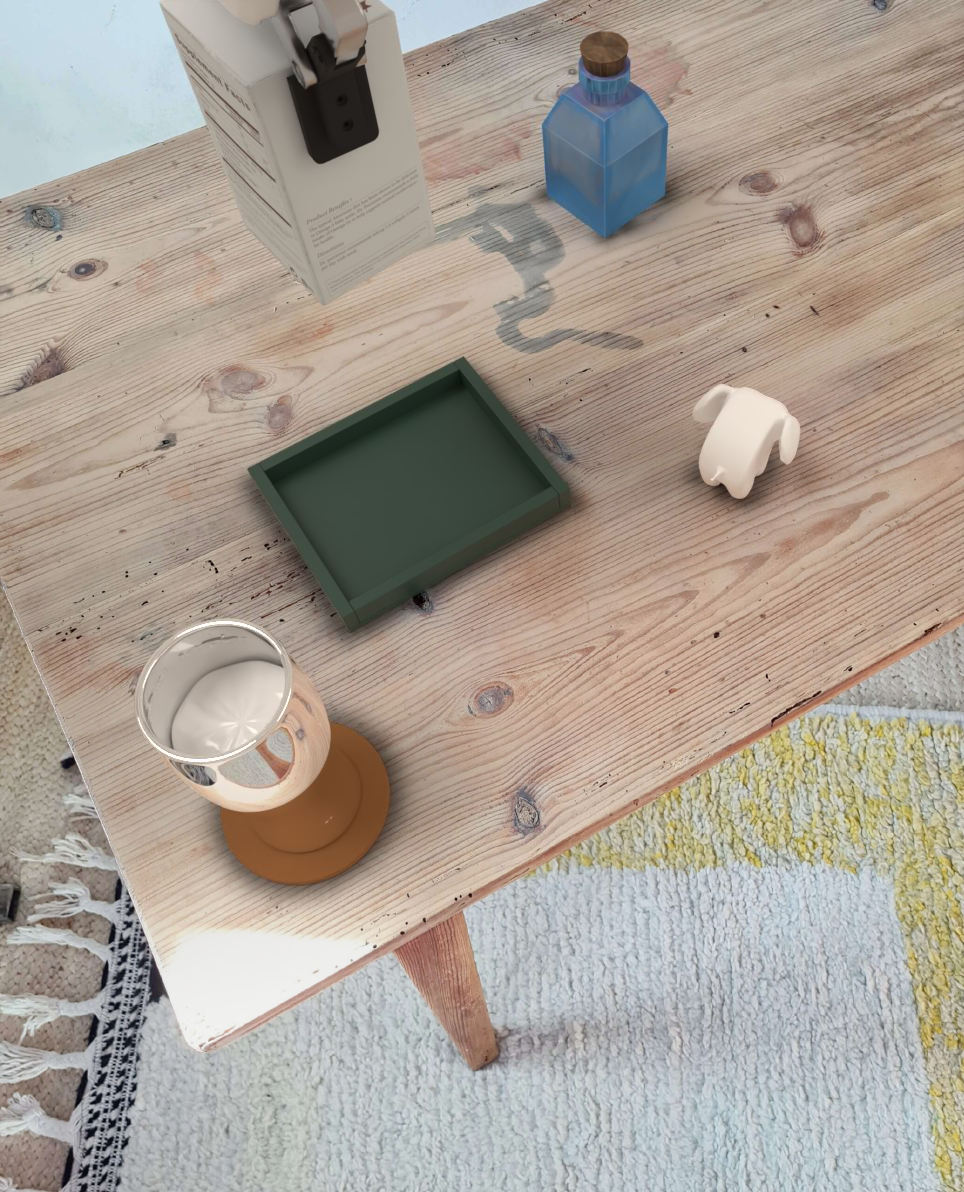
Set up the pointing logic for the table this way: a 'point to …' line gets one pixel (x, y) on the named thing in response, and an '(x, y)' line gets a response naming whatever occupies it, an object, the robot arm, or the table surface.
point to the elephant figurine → (742, 436)
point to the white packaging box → (279, 154)
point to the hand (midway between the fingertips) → (300, 94)
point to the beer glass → (248, 732)
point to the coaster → (338, 852)
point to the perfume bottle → (605, 140)
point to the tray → (408, 491)
